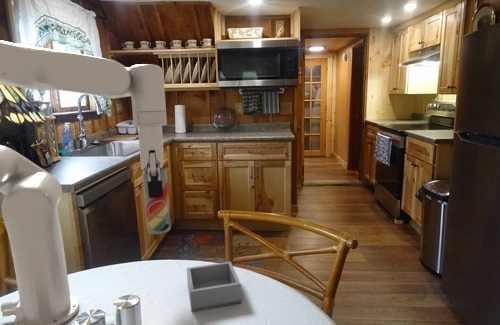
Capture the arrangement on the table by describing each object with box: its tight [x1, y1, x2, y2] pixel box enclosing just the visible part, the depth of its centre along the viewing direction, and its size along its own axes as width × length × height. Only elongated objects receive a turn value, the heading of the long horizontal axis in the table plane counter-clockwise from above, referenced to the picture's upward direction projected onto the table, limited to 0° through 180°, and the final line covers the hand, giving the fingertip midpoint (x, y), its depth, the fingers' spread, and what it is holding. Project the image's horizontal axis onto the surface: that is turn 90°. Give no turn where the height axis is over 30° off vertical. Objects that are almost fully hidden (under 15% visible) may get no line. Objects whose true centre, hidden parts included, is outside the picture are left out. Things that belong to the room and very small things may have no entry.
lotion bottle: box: [141, 152, 172, 235], centre depth 82 cm, size 6×6×20 cm
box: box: [186, 261, 242, 313], centre depth 83 cm, size 12×12×5 cm
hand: (156, 193), depth 82 cm, fingers closed on lotion bottle, 5 cm apart
